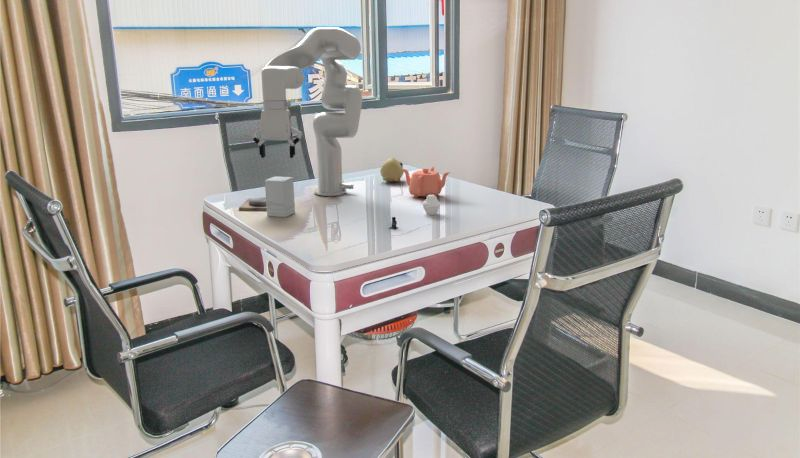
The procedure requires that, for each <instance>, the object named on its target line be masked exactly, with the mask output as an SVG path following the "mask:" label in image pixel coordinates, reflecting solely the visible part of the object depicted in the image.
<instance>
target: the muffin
mask: <svg viewBox="0 0 800 458" xmlns="http://www.w3.org/2000/svg"><path fill="white" fill-rule="evenodd" d="M425 197H426V199H425V200H424V201H423V202H422V207H423V210H424V211H425V214H426V215H428V216H435V215H437V213H438V211H439V209H440V206H441V202H440V200H438V197H437V196H435V195H432V194H431V195H428V196H425Z"/></svg>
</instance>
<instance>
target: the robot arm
mask: <svg viewBox="0 0 800 458" xmlns="http://www.w3.org/2000/svg"><path fill="white" fill-rule="evenodd" d="M361 48H362V46H361V43H360V40H359V39H358V38H357V37H356V36H355V35H353V34H351V33H350V32H348V31H347V30H345V29H343V28H340V27H335V26H334V27H331V26H330V27H316V28H315V27H314V28H313V29H311V30H310V31H309V32H308V33H307V34H306V35H305V36H304V37H303V38H302V40H301V41H300V42H299V43H298V44H297V45H296V46H294V47H292V48H290V49H288V50H286V51H284V52H282V53H280V54H278V55H276V56H274V57H273V58H272V59H271V60H270V61H269V62H268V63H267V64H266V65H265V66H264V67H263V68H262V70H261V86H262V87H261V89H262V91H261V92H262V105H263V107H262V108H263V109H262V110H261V113H260V122H259V123H260V127H258V128H256V129H254V130H253V131H250V133H249V134H250V137H251V138H252V139H253V142H255V143H256V144H257V146H258V149H259V150H258V151H259V155H260V158H262V159H264V158H265V157H266V145H265V142H267V141H287V142H288V144H289V145H290V146H289V147H288V148H289V158H290V159H293V158H294V156H295V155H296V144H297V143H299V142H300V140H301V138H302V136H303V132H302V131H300V130H298V129H296V128H295V127H293V124H292V117H291V116H292V115H291V111H290V109H288V108H289V107H291V106H292V103H291V102H289V101H288V100H287V90H296V89H299V88H301V87H302V86H303V84H304V82H305V75H304V72H303V70H304V69H308V68H311V67H312V66H314V65H315V64H316V63H317V61H318V60H319V59H320V60H321V62H322V65H323V67H324V79H323V80H324V81H323V85H322V92H321V99H320V100H321V105H322V107H323V108H324V109H327V110H333V111H334V110H335V111H344V112H335V111H334V112H333V111H332V112H331V111H322V112H319V113H317V114H315V116H314V118H313V122H312V126H313V127H312V128H313V131H314V136H315V137H314V138H315V144H316V161H317V162H316V163H317V165H316V166H317V185H318V186H317V188H316V189H314V194H315V195H317V196H323V197H336V196H343V195H345V194H347V190H354V184H353V183H345V182H344V181H345V180H344V179H343V168H342V166H343V165H342V164H343V163H342V146H341V144H340V142H339V140H338V138H339V139H353V138H354V137H356V135H357V133H358V131H359V127H360V126H359V125H360V119H361V113H362V106H363V95H362V91H361V89H360V88H359V87H358V86H357V85H353V84H352V85H351V84H347V78H348V72H347V70H346V68H345V67H344V64H343V63H342V62H341V61H342V60H348V61H352V60H355V59H357V58H358V57H359V56H360V54H361V50H362V49H361ZM258 133H260V138H259V137H258V136H257V134H258ZM293 134H295V135H296V137H295V139H293Z"/></svg>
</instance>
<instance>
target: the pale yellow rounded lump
mask: <svg viewBox="0 0 800 458" xmlns="http://www.w3.org/2000/svg"><path fill="white" fill-rule="evenodd" d="M402 169H404V166H403V163H402V162H400V161H399V160H397V159H396V158H394V157H390V158H388V159H387V160H386V161H384V163H383V164H382V166H381V168H380V169H379V170H380V175H381V177H382V180H383V182H384V181H385V182H400V181H401V178H402V177H403V176H404V174H405V172H404V171H403V170H402Z"/></svg>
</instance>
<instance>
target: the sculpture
mask: <svg viewBox="0 0 800 458" xmlns="http://www.w3.org/2000/svg"><path fill="white" fill-rule="evenodd" d="M396 219H397V218H396V216H393V217H391V226H390V227H389V228H388V230H395V231H396V230H398V229H399V227H398V226H397V220H396Z"/></svg>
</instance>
